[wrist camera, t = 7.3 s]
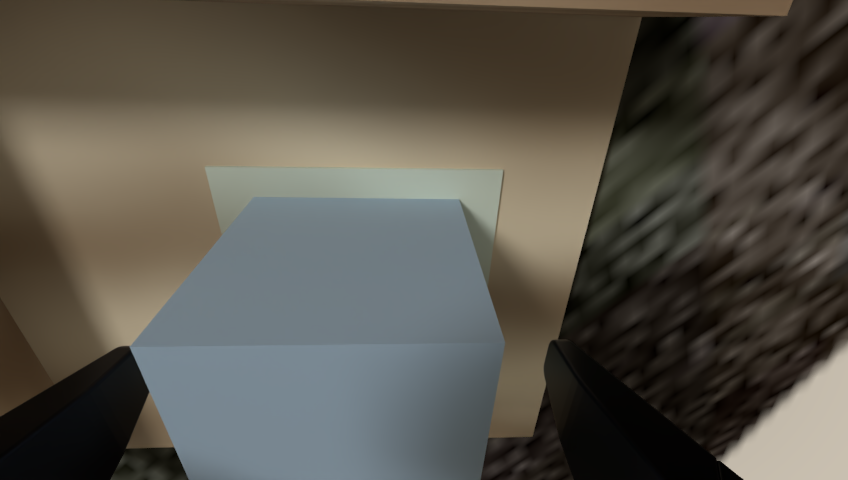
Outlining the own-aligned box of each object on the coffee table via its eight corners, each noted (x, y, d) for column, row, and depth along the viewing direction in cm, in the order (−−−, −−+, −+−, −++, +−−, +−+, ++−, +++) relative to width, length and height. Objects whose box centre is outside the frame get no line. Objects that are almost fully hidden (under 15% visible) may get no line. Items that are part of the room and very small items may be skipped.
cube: (458, 199, 10) (505, 343, 5) (446, 347, 12) (471, 528, 8) (254, 197, 10) (129, 346, 5) (282, 349, 12) (215, 538, 8)
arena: (527, 422, 15) (566, 544, 12) (71, 434, 14) (-38, 572, 11) (643, -51, 8) (836, -105, 4) (-271, -93, 7) (-954, -206, 4)
